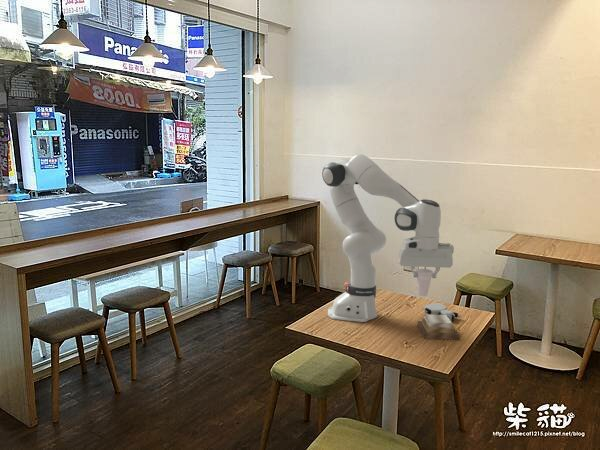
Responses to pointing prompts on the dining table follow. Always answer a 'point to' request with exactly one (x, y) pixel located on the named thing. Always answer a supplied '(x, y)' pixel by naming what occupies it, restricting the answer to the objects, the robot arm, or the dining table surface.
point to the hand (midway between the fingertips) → (424, 277)
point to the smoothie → (423, 281)
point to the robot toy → (440, 310)
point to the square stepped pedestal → (437, 327)
